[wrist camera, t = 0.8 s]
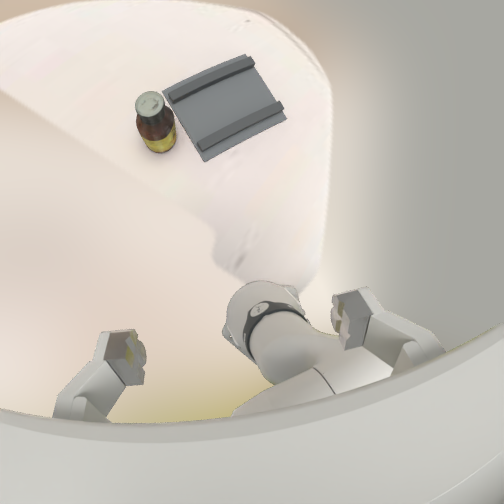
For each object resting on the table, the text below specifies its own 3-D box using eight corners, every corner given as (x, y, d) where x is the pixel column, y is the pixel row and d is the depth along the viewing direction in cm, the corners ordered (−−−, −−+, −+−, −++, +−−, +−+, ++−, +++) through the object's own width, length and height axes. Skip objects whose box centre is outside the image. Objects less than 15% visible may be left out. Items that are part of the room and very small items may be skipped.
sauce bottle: (181, 145, 53) (181, 116, 34) (152, 159, 52) (138, 136, 33) (168, 117, 51) (164, 78, 32) (140, 131, 50) (122, 97, 31)
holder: (286, 119, 57) (291, 115, 54) (204, 162, 55) (205, 160, 52) (244, 54, 52) (247, 48, 49) (162, 92, 50) (161, 86, 47)
